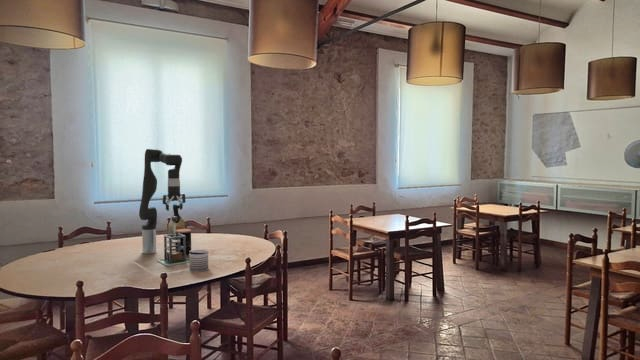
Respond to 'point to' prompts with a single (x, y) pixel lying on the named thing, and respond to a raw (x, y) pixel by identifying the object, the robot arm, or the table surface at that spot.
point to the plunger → (174, 230)
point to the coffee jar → (188, 239)
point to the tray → (173, 263)
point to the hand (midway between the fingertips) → (174, 210)
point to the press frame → (172, 254)
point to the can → (198, 260)
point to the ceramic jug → (176, 222)
